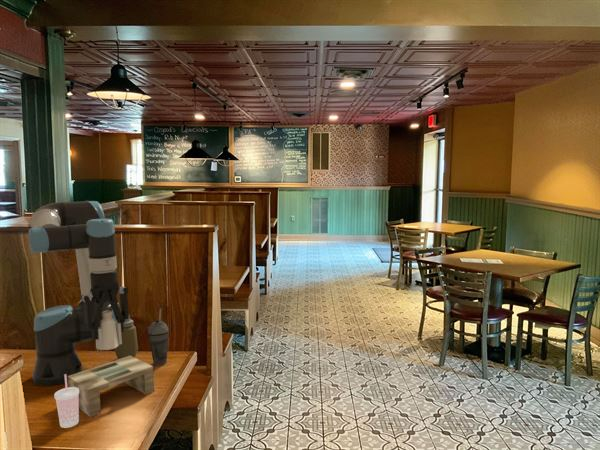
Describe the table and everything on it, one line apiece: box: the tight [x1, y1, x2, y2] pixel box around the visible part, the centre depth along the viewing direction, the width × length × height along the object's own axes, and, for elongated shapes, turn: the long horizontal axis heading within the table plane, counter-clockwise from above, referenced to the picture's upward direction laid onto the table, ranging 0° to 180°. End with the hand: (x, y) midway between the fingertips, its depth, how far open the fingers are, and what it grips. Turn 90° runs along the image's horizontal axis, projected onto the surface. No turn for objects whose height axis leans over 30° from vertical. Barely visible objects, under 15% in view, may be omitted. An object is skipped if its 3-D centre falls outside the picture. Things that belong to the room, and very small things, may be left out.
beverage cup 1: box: [53, 374, 80, 429], centre depth 125 cm, size 6×6×14 cm
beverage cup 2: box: [147, 308, 170, 367], centre depth 164 cm, size 7×7×20 cm
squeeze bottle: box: [114, 315, 139, 360], centre depth 168 cm, size 8×8×18 cm
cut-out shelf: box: [67, 356, 155, 418], centre depth 140 cm, size 14×20×8 cm
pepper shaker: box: [100, 311, 119, 351], centre depth 138 cm, size 5×5×11 cm
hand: (109, 345), depth 139 cm, fingers closed on pepper shaker, 5 cm apart
